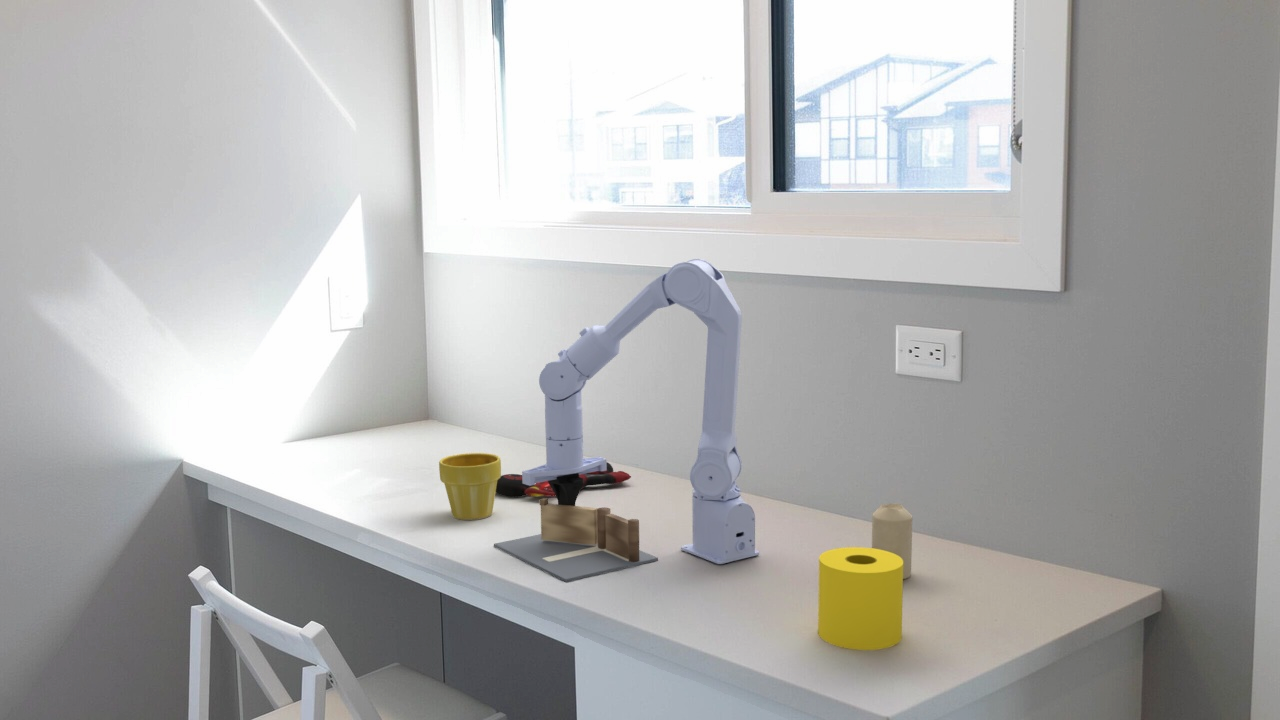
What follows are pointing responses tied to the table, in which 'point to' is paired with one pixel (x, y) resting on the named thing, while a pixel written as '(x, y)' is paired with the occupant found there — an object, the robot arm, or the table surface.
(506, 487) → the toy motorcycle
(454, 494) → the plant pot
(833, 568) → the yellow toilet paper roll
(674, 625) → the table surface
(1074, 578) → the table surface
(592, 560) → the card
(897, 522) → the beige can
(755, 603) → the table surface
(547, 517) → the fence panel
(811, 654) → the table surface
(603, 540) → the fence fixed section
